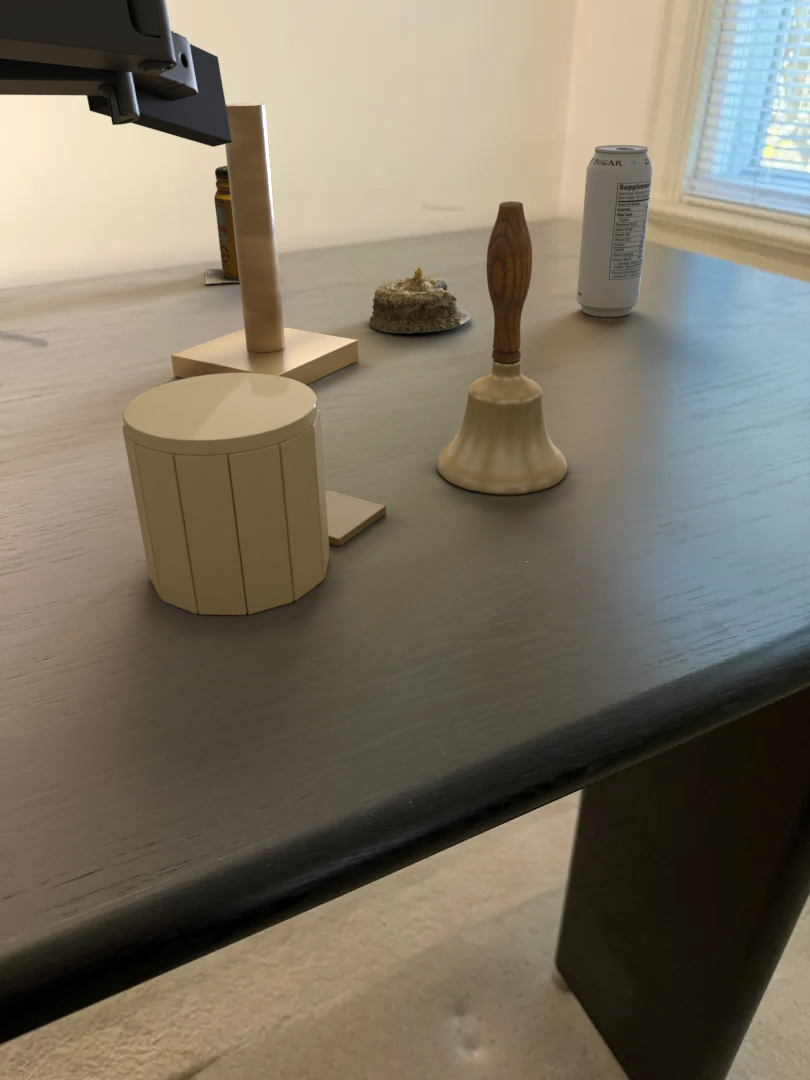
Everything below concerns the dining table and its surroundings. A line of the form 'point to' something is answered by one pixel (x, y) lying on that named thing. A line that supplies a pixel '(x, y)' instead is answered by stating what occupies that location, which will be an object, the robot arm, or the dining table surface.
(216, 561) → the slatted wooden barrel
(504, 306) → the hand bell
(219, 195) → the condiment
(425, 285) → the cake
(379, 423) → the dining table surface
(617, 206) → the energy drink can
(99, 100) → the robot arm
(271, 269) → the hat stand
